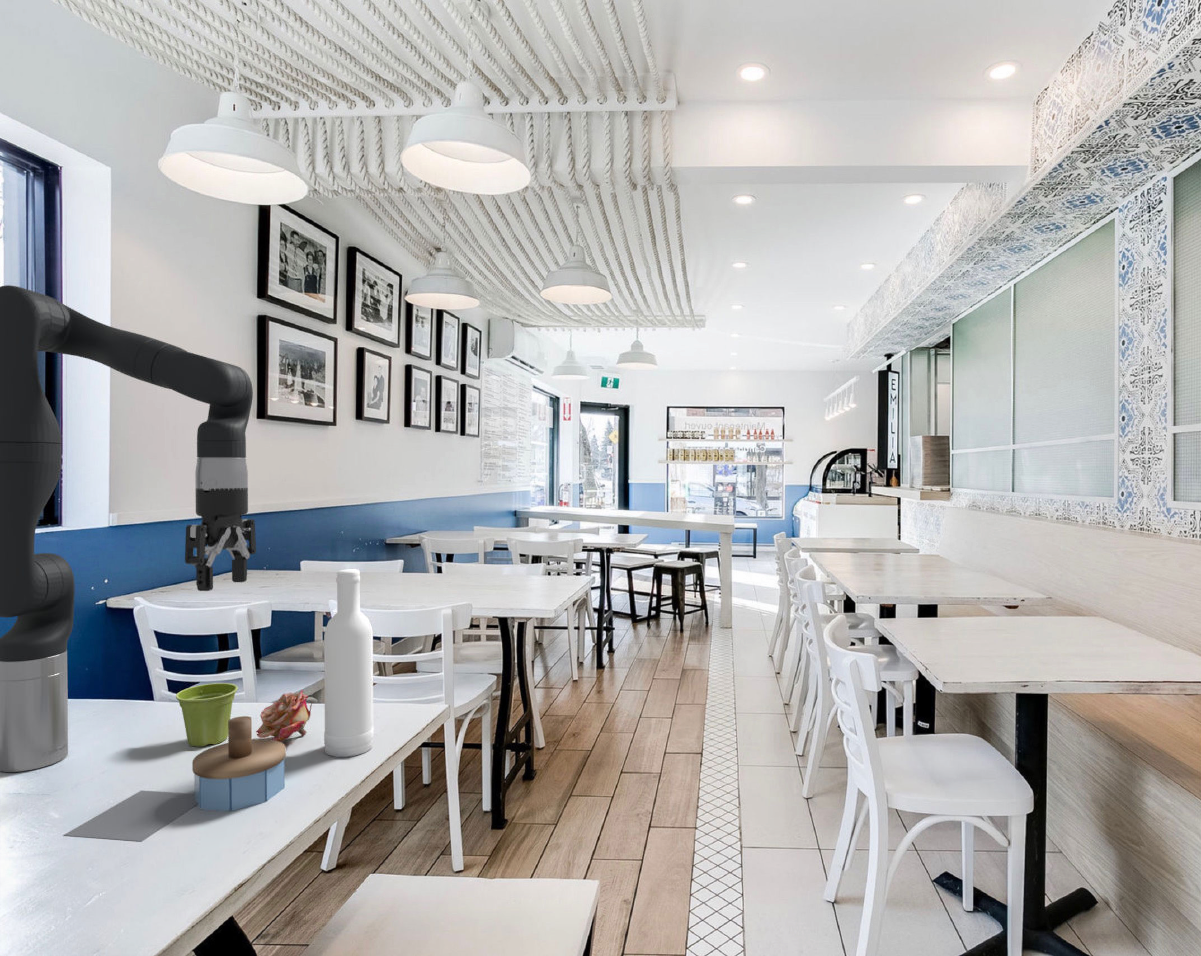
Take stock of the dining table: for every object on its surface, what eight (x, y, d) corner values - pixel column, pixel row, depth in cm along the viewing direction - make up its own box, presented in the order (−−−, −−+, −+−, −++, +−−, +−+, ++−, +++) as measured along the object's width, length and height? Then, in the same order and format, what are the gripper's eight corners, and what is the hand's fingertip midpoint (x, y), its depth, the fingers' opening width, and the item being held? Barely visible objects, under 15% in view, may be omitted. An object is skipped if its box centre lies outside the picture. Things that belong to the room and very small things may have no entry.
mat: (63, 839, 93) (63, 835, 93) (141, 794, 105) (141, 790, 105) (141, 845, 91) (141, 841, 91) (211, 799, 104) (210, 794, 104)
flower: (309, 714, 135) (281, 684, 132) (335, 715, 129) (307, 683, 126) (269, 758, 128) (239, 727, 125) (296, 761, 122) (265, 728, 119)
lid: (172, 776, 100) (171, 732, 100) (228, 743, 112) (228, 704, 112) (253, 781, 98) (253, 737, 98) (301, 747, 110) (301, 708, 110)
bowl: (178, 811, 100) (178, 775, 100) (229, 777, 111) (229, 745, 111) (252, 816, 99) (252, 779, 99) (297, 781, 110) (296, 748, 110)
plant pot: (212, 753, 121) (211, 701, 121) (163, 748, 123) (162, 697, 123) (250, 733, 130) (249, 684, 130) (203, 729, 132) (203, 681, 132)
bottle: (339, 761, 117) (338, 575, 117) (315, 749, 122) (314, 570, 122) (383, 747, 123) (382, 570, 123) (358, 736, 128) (357, 566, 128)
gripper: (228, 485, 125) (229, 579, 126) (168, 487, 111) (169, 593, 111) (269, 485, 124) (270, 580, 125) (214, 487, 110) (214, 594, 110)
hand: (222, 586), depth 118 cm, fingers open, 8 cm apart
